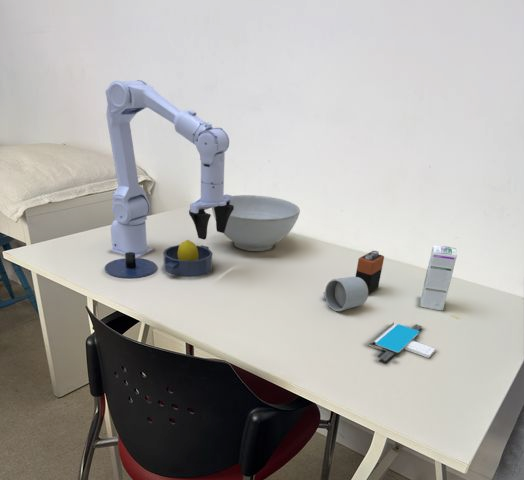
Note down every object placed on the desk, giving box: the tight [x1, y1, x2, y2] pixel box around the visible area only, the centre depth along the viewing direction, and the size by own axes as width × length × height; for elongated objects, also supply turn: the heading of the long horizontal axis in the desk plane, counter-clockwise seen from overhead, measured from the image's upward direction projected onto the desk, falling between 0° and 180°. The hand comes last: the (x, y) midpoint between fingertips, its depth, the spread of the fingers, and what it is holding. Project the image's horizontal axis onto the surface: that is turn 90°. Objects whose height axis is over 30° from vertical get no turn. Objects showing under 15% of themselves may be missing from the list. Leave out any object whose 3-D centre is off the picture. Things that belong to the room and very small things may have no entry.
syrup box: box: [419, 244, 458, 311], centre depth 122 cm, size 6×6×14 cm
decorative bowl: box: [211, 194, 301, 252], centre depth 154 cm, size 27×27×12 cm
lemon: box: [178, 239, 198, 261], centre depth 133 cm, size 6×6×8 cm
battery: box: [355, 250, 385, 295], centre depth 129 cm, size 4×7×10 cm, turn 143°
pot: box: [162, 244, 213, 278], centre depth 134 cm, size 13×18×5 cm
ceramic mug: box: [322, 276, 369, 312], centre depth 121 cm, size 11×8×8 cm
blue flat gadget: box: [367, 322, 436, 364], centre depth 106 cm, size 20×12×2 cm, turn 143°
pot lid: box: [104, 252, 158, 279], centre depth 131 cm, size 13×13×5 cm
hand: (211, 235), depth 130 cm, fingers open, 7 cm apart
